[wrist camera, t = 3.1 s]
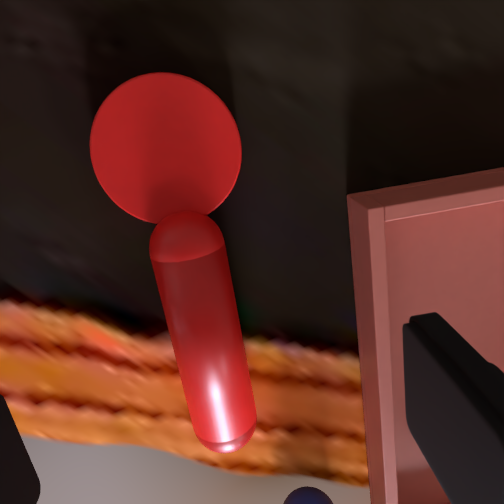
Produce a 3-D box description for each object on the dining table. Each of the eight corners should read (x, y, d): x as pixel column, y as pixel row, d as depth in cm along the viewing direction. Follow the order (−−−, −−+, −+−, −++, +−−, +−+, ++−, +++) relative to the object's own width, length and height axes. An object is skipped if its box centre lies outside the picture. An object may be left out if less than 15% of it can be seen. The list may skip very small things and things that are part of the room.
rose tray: (371, 516, 24) (389, 562, 21) (346, 194, 17) (367, 208, 15) (523, 485, 24) (557, 527, 22) (551, 158, 18) (604, 167, 15)
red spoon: (282, 410, 21) (292, 455, 18) (174, 431, 20) (170, 479, 18) (226, 63, 15) (230, 56, 13) (81, 86, 15) (54, 84, 13)
